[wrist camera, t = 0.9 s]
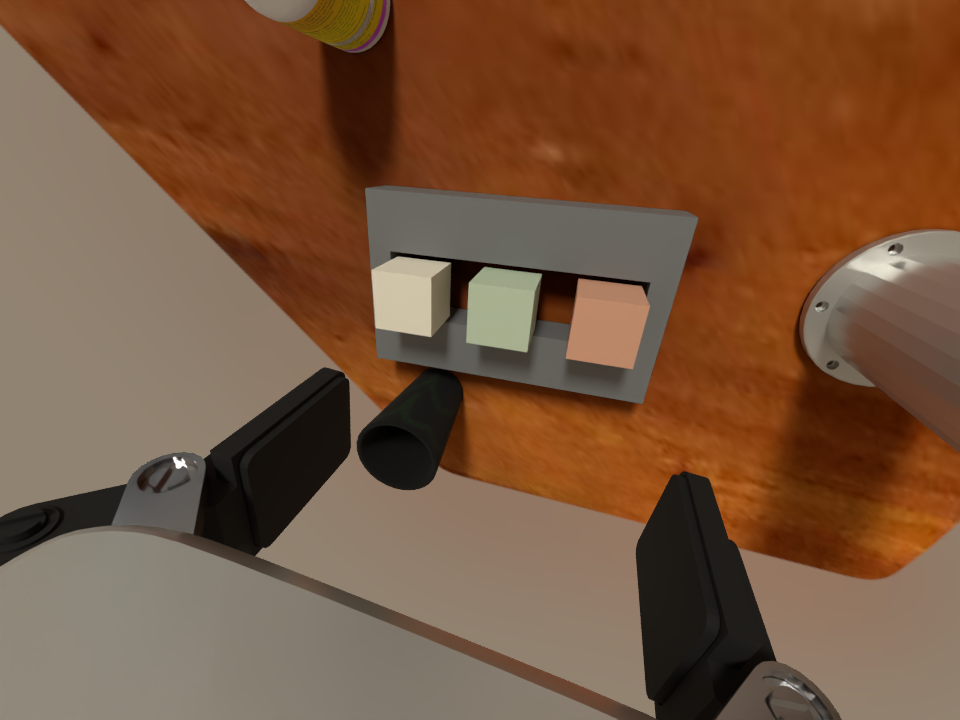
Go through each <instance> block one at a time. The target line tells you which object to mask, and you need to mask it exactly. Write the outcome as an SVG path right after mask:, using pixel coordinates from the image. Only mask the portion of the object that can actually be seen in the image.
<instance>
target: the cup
mask: <svg viewBox="0 0 960 720" xmlns="http://www.w3.org/2000/svg"><path fill="white" fill-rule="evenodd" d="M462 398H463V388H462V385H461V383H460V381H459V380H458V379H457V377H456V376H454V375H453V374H452V373H450V372H449V371H447V370H444V369H440V368H432V369H428V370H426V371H424V372H423V373H422V374H421V375H420V376H419V377H418V378H416V379H415V380H414V381H413V382H412V383H411V384H410V385H409V386H408V387H407V388H406V389H405V390H404V391H403V392H402V393H401V394H400V395H399V396H398V397H396V398H395V399H394V400H393V401H392V402H391V403H390V404H389V405H388V406H387V407H386V408H385V409H384V410H383V411H382V412H381V413H380V414H379V415H378V416H376V418H374V419H373V420H372V421H371V422H370V423H369V424H368V425H367V426H366V427H365V428H364V429H363V430H362V431H361V433H360V434H359V436H358V440H357V452H358V455H359V458H360V460H361V462H362V464H363V465H364V467H365V468H366V469H367V471H368V472H369V473H370V474H371V475H372V476H373V477H375V478H376V479H377V480H379V481H380V482H382V483H384V484H386V485H388V486H391V487H393V488H397V489H401V490H415V489H420V488H422V487H425V486H426V485H428V484H429V483H430V482H431V481H432V480H433V479H434V477H435V474H436V472H437V469H438V466H439V463H440V461H441V458H442V455H443V452H444V449H445V446H446V443H447V441H448V438H449V435H450V432H451V429H452V426H453V423H454V421H455V418H456V415H457V412H458V409H459V406H460V403H461V401H462Z"/></svg>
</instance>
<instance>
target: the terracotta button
mask: <svg viewBox="0 0 960 720" xmlns="http://www.w3.org/2000/svg"><path fill="white" fill-rule="evenodd" d="M649 308H650V305H649V303H648V300H647V298H646V295H645V293H644V290H643V288H642V286H637V285H629V284H620V283H612V282H604V281H596V280H588V279H580V278H578V284H577V289H576V295H575V301H574V306H573V312H572V317H571V323H570V329H569V335H568V343H567V351H566V359H571V360H577V361H584V362H590V363H596V364H602V365H609V366H615V367H621V368H627V369H633V367H634V363H635V359H636V356H637V352H638V348H639V345H640V341H641V337H642V334H643V330H644V327H645V323H646V319H647V316H648V312H649Z"/></svg>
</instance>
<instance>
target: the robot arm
mask: <svg viewBox="0 0 960 720" xmlns="http://www.w3.org/2000/svg"><path fill="white" fill-rule="evenodd" d="M890 246H891V248H890ZM889 248H890V249H889ZM819 302H820V303H819ZM818 303H819V304H818ZM817 304H818V305H817ZM816 305H817V306H816ZM799 334H800V339H801V344H802V346H803V348H804V350H805V352H806V354H807V355H808V357H809V358H810V359H811V360H812V361H813V362H814V363H815V364H816V365H817V366H818V367H819V368H820V369H821V370H822V371H824V372H825V373H827V374H829V375H830V376H832V377H834V378H836V379H838V380H841V381H844V382H847V383H850V384H853V385H860V386H866V387H878V388H879V389H880V390H881V391H883V392H884V393H885V394H886V395H888V396H889V397H890V398H891V399H893V400H894V401H895V402H896V403H898V404H899V405H900V406H901V407H902V408H904V409H905V410H906V411H907V412H909V413H910V414H911V415H912V416H914V417H915V418H916V419H917V420H919V421H920V422H921V423H922V424H924V425H925V426H926V427H927V428H929V429H930V430H931V431H932V432H934V433H935V434H936V435H937V436H939V437H940V438H941V439H942V440H944V441H945V442H946V443H947V444H948V445H950V446H951V447H952V448H953V449H955V450H956V451H957V452H958V453H960V232H958V231H953V230H941V229H926V230H913V231H908V232H904V233H899V234H895V235H891V236H888V237H885V238H883V239H880V240H877V241H875V242H872V243H870V244H868V245H866V246H864V247H862V248H860V249H858V250H856V251H854V252H853V253H851V254H850V255H848V256H847V257H845V258H844V259H843V260H841V261H840V262H838V263H837V264H835V265H834V266H833V267H832V268H831V269H830V270H829V271H828V272H827V273H826V274H825V275H824V276H823V277H822V278H821V279H820V280H819V282H818V283H817V284H816V286H815V287H814V288H813V289H812V291H811V292H810V294H809V296H808V298H807V300H806V302H805V304H804V306H803V309H802V313H801V316H800V324H799ZM350 448H351V435H350V392H349V380H348V379H347V378H345V375H344V373H343V372H340V371H336V370H333V369H330V368H322V369H320V370H319V371H318V372H316V373H315V374H314V375H313V376H311V377H310V378H308V379H307V380H305V381H304V382H303V383H302V384H300V385H299V386H297V387H296V388H295V389H293V390H292V391H290V392H289V393H288V394H286V395H285V396H284V397H282V398H281V399H280V400H278V401H277V402H275V403H274V404H273V405H271V406H270V407H269V408H267V409H266V410H265V411H263V412H262V413H260V414H259V415H258V416H256V417H255V418H254V419H252V420H251V421H250V422H249V423H247V424H246V425H244V426H243V427H241V428H240V429H239V430H237V431H236V432H235V433H233V434H232V435H231V436H229V437H228V438H226V439H225V440H224V441H222V442H221V443H220V444H218V445H217V446H216V447H214V448H213V449H212V450H210V452H211V454H210V455H208V456H207V457H206V458H204V459H203V458H202V457H201V456H199V455H196V454H194V453H187V452H182V453H172V454H168V455H163V456H160V457H158V458H155V459H153V460H151V461H149V462H147V463H146V464H144V465H142V466H141V467H140V468H139V469H138V470H136V471H135V472H134V473H133V474H132V476H131V478H130V479H129V481H128V483H127V484H125V485H120V486H115V487H111V488H106V489H102V490H97V491H93V492H88V493H83V494H78V495H74V496H69V497H65V498H60V499H55V500H51V501H46V502H42V503H37V504H33V505H30V506H26V507H23V508H20V509H17V510H15V511H13V512H10V513H8V514H6V515H4V516H2V517H0V720H842V719H841V717H840V715H839V713H838V712H837V710H836V709H835V708H834V706H833V705H832V703H831V702H830V700H829V699H828V698H827V697H826V696H825V694H824V693H822V691H821V690H820V689H819V688H818V687H817V686H816V685H815V684H814V683H813V682H812V681H810V680H809V679H808V678H807V677H805V676H804V675H803V674H801V673H800V672H799V671H797V670H795V669H793V668H791V667H789V666H788V665H786V664H782V663H779V662H777V661H776V658H775V655H774V652H773V649H772V646H771V643H770V640H769V638H768V635H767V632H766V629H765V626H764V623H763V620H762V617H761V614H760V611H759V608H758V605H757V602H756V599H755V596H754V593H753V591H752V588H751V584H750V582H749V579H748V576H747V573H746V570H745V567H744V564H743V561H742V558H741V555H740V552H739V550H738V547H737V545H736V544H735V543H734V542H733V541H732V540H729V539H728V536H727V533H726V530H725V527H724V523H723V520H722V517H721V514H720V511H719V508H718V505H717V502H716V499H715V495H714V492H713V489H712V486H711V483H710V481H709V479H708V478H706V477H703V476H699V475H696V474H692V473H689V472H685V471H684V472H682V473H681V474H680V475H675V474H674V475H673V476H672V477H671V478H670V480H669V482H668V484H667V486H666V488H665V490H664V492H663V494H662V496H661V498H660V500H659V502H658V503H657V505H656V507H655V509H654V511H653V513H652V515H651V517H650V519H649V521H648V523H647V525H646V527H645V529H644V530H643V532H642V534H641V536H640V538H639V540H638V543H637V547H636V563H637V575H638V589H639V602H640V614H641V615H640V616H641V629H642V642H643V656H644V669H645V682H646V692H647V696H648V698H649V699H651V700H653V701H655V713H656V719H655V718H653V717H651V716H649V715H647V714H645V713H643V712H640V711H638V710H635V709H633V708H631V707H628V706H626V705H624V704H621V703H619V702H617V701H614V700H612V699H610V698H607V697H605V696H602V695H600V694H598V693H595V692H593V691H591V690H588V689H586V688H584V687H581V686H579V685H577V684H574V683H572V682H569V681H567V680H565V679H562V678H560V677H557V676H555V675H552V674H550V673H547V672H545V671H542V670H540V669H537V668H535V667H532V666H530V665H527V664H525V663H523V662H520V661H518V660H515V659H513V658H510V657H508V656H505V655H503V654H500V653H498V652H495V651H493V650H490V649H488V648H485V647H483V646H481V645H478V644H476V643H473V642H471V641H468V640H466V639H463V638H461V637H458V636H455V635H453V634H451V633H448V632H446V631H443V630H441V629H438V628H436V627H433V626H431V625H428V624H425V623H423V622H421V621H418V620H415V619H413V618H410V617H408V616H406V615H403V614H401V613H398V612H395V611H393V610H390V609H388V608H385V607H383V606H380V605H378V604H375V603H373V602H370V601H368V600H365V599H363V598H360V597H358V596H355V595H353V594H350V593H347V592H345V591H343V590H340V589H338V588H335V587H332V586H330V585H327V584H325V583H322V582H320V581H317V580H315V579H312V578H309V577H307V576H304V575H302V574H299V573H297V572H294V571H292V570H289V569H286V568H284V567H281V566H279V565H276V564H274V563H271V562H269V561H266V560H264V559H261V558H258V557H255V556H256V554H257V553H258V552H259V551H260V550H261V549H262V548H267V547H268V546H270V545H271V544H272V543H273V542H274V541H275V540H276V538H277V537H278V536H279V535H280V534H281V533H282V532H283V530H284V529H285V528H286V527H287V526H288V525H289V523H290V522H291V521H292V520H293V519H294V517H295V516H296V515H297V514H298V513H299V512H300V511H301V510H302V508H303V507H304V506H305V505H306V504H307V503H308V502H309V501H310V499H311V498H312V497H313V496H314V495H315V494H316V492H317V491H318V490H319V489H320V488H321V486H323V484H324V483H325V482H326V481H327V480H328V479H329V478H330V476H331V475H332V474H333V473H334V472H335V470H336V469H337V468H338V467H339V466H340V465H341V464H342V463H343V461H344V460H345V459H346V458H347V456H348V454H349V452H350Z"/></svg>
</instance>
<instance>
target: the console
mask: <svg viewBox="0 0 960 720" xmlns="http://www.w3.org/2000/svg"><path fill="white" fill-rule="evenodd" d="M365 194H366V208H367V221H368V235H369V249H370V263H371V277H372V269H374V268H376V267H378V266H380V265H382V264H384V263H386V262H388V261H390V260H392V259H394V258H396V257H398V256H399V257H408V258H409V256H408V253H409V254H417V255H426V256H434V257H442V258H451V259H459V260H467V261H476V262H484V263H492V264H501V265H509V266H517V267H526V268H534V269H542V270H551V271H559V272H567V273H576V274H584V275H592V276H601V277H609V278H617V279H626V280H634V281H642V283H641V286H642V288H643V290H644V293H645V295H646V298H647V300H648V303H649V305H650V308H649V312H648V316H647V319H646V323H645V327H644V330H643V334H642V337H641V341H640V345H639V348H638V352H637V356H636V359H635V363H634V367H633V369H627V368H621V367H615V366H609V365H602V364H596V363H590V362H584V361H577V360H571V359H566V351H567V343H568V335H569V329H570V324H563V323H556V322H549V321H542V320H536V324H535V330H534V333H533V336H532V339H531V342H530V345H529V348H528V351H527V352H521V351H515V350H509V349H503V348H496V347H490V346H484V345H478V344H471V343H466V336H467V314H468V310H466V309H459V308H452V307H450V316H449V318H448V319H447V320H446V321H445V322H444V323H443V324H442V325H441V327H440V328H439V329H438V330H437V331H436V332H435V333H434V335H433V336H432V337H428V336H422V335H415V334H409V333H403V332H397V331H390V330H384V329H378V328H376V326H375V332H376V346H377V357H378V358H383V359H389V360H395V361H400V362H406V363H412V364H417V365H423V366H429V367H435V368H440V369H446V370H452V371H457V372H463V373H469V374H475V375H480V376H486V377H492V378H497V379H503V380H509V381H514V382H520V383H526V384H532V385H537V386H543V387H549V388H554V389H560V390H566V391H572V392H577V393H583V394H589V395H594V396H600V397H606V398H611V399H617V400H623V401H629V402H634V403H640V404H643V400H644V397H645V394H646V390H647V387H648V384H649V380H650V377H651V374H652V370H653V367H654V364H655V360H656V357H657V354H658V351H659V347H660V344H661V341H662V337H663V334H664V331H665V327H666V324H667V321H668V317H669V314H670V311H671V307H672V304H673V301H674V297H675V294H676V291H677V288H678V284H679V281H680V278H681V274H682V271H683V268H684V264H685V261H686V258H687V254H688V251H689V248H690V244H691V241H692V238H693V234H694V231H695V228H696V225H697V221H698V217H696V216H694V215H693V214H691V213H689V212H687V211H679V210H667V209H656V208H644V207H632V206H621V205H609V204H598V203H586V202H575V201H563V200H551V199H540V198H528V197H517V196H505V195H494V194H482V193H471V192H459V191H447V190H436V189H424V188H413V187H401V186H390V185H384V186H377V187H370V188H365ZM372 291H373V284H372ZM373 304H374V298H373ZM374 318H375V312H374Z"/></svg>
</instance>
